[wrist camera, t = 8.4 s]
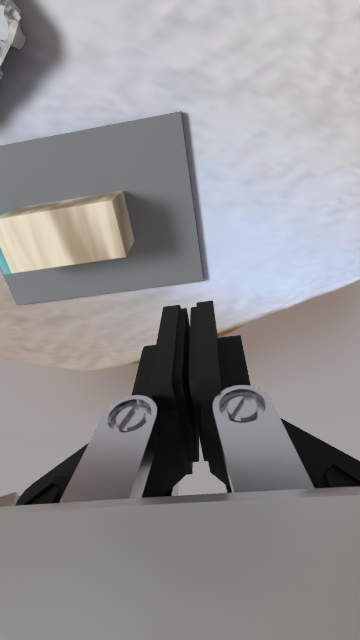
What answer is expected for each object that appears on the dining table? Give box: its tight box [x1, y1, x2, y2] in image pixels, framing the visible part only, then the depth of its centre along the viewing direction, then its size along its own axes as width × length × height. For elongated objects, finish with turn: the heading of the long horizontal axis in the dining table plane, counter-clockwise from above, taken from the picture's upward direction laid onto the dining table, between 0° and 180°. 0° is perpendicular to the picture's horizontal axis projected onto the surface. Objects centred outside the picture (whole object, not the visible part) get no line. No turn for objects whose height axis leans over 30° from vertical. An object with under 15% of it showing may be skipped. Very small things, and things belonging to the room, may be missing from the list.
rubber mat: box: [0, 112, 204, 305], centre depth 34 cm, size 22×16×1 cm
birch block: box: [0, 190, 134, 274], centre depth 32 cm, size 5×5×12 cm
